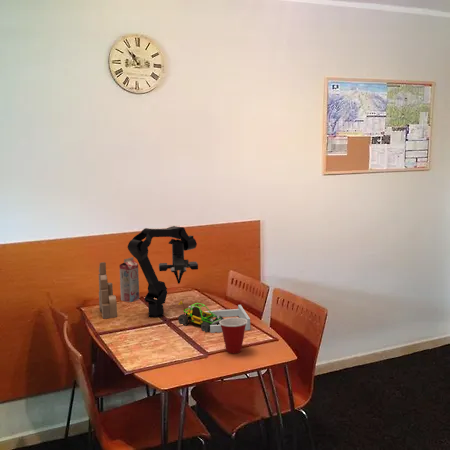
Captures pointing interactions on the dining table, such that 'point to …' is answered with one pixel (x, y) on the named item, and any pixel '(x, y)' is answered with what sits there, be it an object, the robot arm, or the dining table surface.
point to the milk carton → (129, 280)
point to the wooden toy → (106, 295)
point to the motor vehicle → (199, 317)
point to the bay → (229, 313)
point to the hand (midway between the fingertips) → (178, 283)
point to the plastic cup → (233, 333)
